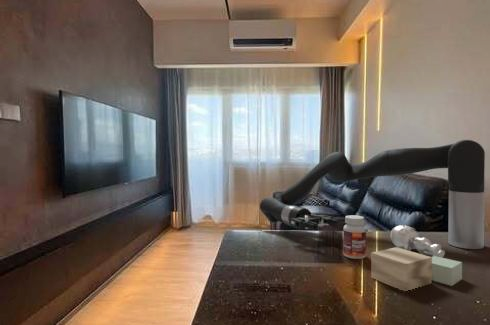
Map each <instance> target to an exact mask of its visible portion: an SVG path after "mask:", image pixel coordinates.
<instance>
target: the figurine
mask: <svg viewBox="0 0 490 325" xmlns="http://www.w3.org/2000/svg"><path fill="white" fill-rule="evenodd" d="M390 240H391V243H392V244H393V245H394V246H395V247H398V248H401V249H405V250H408V251H412V250H417V253H419V254H422V255H426V256H429V257H433V256H437V257H441V258H444V256H445V254H446V251H445V250H443V249H442V245H441V244H440V243H434V244H433V243H432V242H431V240H429V239H428V238H426V237H425V236H423V237H420V234H419V232H418V231H416V230H415V228H414V227H411V226H408V225H405V224H399V225H397V226H395V227H393V228H392V229H391V231H390Z"/></svg>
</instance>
